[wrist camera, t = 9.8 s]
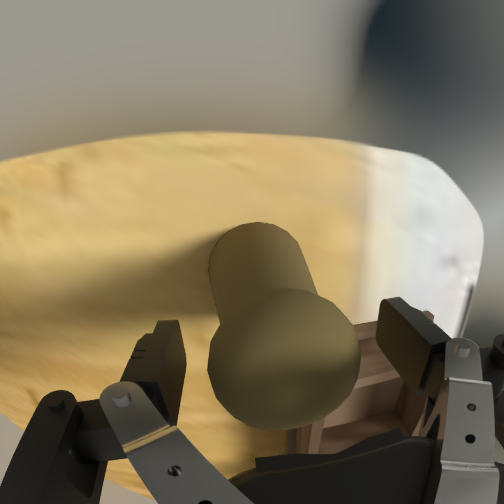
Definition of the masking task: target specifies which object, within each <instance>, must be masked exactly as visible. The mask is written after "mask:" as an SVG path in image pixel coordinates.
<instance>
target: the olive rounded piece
mask: <svg viewBox="0 0 504 504" xmlns="http://www.w3.org/2000/svg"><path fill="white" fill-rule="evenodd" d="M208 271H209V276H210V281H211V286H212V290H213V295H214V299H215V304H216V308H217V312H218V317H219V321H220V326H219V327H218V329H217V331H216V333H215V334H214V336H213V338H212V340H211V343H210V351H209V358H208V369H207V371H208V375H209V378H210V381H211V384H212V388H213V391H214V393H215V396H216V398H217V400H218V401H219V402H220V403H221V404H222V405H223V407H224V408H225V409H226V410H227V411H228V412H229V413H230V414H231V415H232V416H233V417H234V418H236V419H238V420H240V421H241V422H243V423H245V424H247V425H249V426H252V427H256V428H260V429H265V430H289V429H294V428H299V427H303V426H306V425H309V424H311V423H314V422H316V421H318V420H321V419H323V418H324V417H326V416H327V415H329V414H330V413H332V412H333V411H334V410H336V409H337V408H338V407H339V406H340V405H341V404H342V403H343V402H344V401H345V400H346V399H347V398H348V396H349V395H350V394H351V392H352V390H353V388H354V386H355V384H356V381H357V379H358V375H359V371H360V362H361V349H360V345H359V342H358V339H357V336H356V333H355V330H354V327H353V325H352V323H351V322H350V321H349V320H348V318H347V317H346V316H345V315H344V314H343V313H342V312H341V311H340V310H339V309H338V308H337V306H336V305H335V304H334V303H332V302H330V301H329V300H327V299H325V298H323V297H320V296H318V294H317V291H316V288H315V286H314V283H313V280H312V277H311V275H310V272H309V269H308V266H307V264H306V261H305V258H304V256H303V253H302V251H301V249H300V247H299V244H298V242H297V241H296V240H295V239H294V238H293V237H292V236H291V235H290V234H289V233H288V232H287V231H285V230H284V229H282V228H280V227H278V226H276V225H274V224H268V223H262V222H255V223H248V224H242V225H240V226H238V227H236V228H234V229H232V230H230V231H228V232H227V233H226V234H225V235H224V236H223V237H222V238H221V239H220V240H219V241H218V242H217V244H216V246H215V248H214V250H213V252H212V254H211V256H210V262H209V269H208Z"/></svg>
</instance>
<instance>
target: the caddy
mask: <svg viewBox="0 0 504 504" xmlns="http://www.w3.org/2000/svg"><path fill="white" fill-rule="evenodd" d="M423 313H424V314H425V315H426V316H427V317H428V319H431V320H432V321H433V319H434V315H433V314H431V313H430V312H429V311H423ZM377 322H378V321H375V322H370V323H364V324H358V325H353V327H354V330H355V333H356V336H357V339H358V342H359V345H360V349H361V362H360V371H359V375H358V379H357V381H356V384H355V386H354V388H353V390H352V392H351V394H350V395H349V396H348V398H347V399H346V400H345V401H344V402H343V403H342V404H341V405H340V406H339V407H338V408H337V409H336V410H334V411H333V412H332V413H330V414H329V415H327V416H326V417H324V418H323V419H321V420H318V421H316V422H314V423H311V424H309V425H306V426H303V427H299V428H294V429H289V430H287V434H286V454H293V453H297V454H335V453H338V452H340V451H342V450H344V449H346V448H349V447H351V446H353V445H355V444H357V443H358V442H360V441H362V440H364V439H366V438H368V437H371V436H375V435H378V434H381V433H385V432H388V431H391V430H394V429H397V428H400V430H401V432H402V434H403V435H404V436H417V435H418V433H419V430H420V425H421V420H422V415H423V410H424V404H425V400H426V398H427V395H428V394H427V393H423V394H420V395H417V396H414V395H413V393H412V392H411V391H410V389H409V388H408V386H407V385H406V384H405V382H404V381H403V379H402V378H401V377H400V375H399V374H398V372H397V371H396V370H395V368H394V367H393V365H392V364H391V363H390V361H389V360H388V359H387V357H386V356H385V355H384V353H383V352H382V350H381V349H380V348H379V346H378V344H377V341H376V328H377Z"/></svg>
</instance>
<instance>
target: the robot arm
mask: <svg viewBox="0 0 504 504" xmlns="http://www.w3.org/2000/svg"><path fill="white" fill-rule="evenodd" d="M376 341H377V344H378V346H379V348H380V349H381V350H382V352H383V353H384V355H385V356H386V357H387V359H388V360H389V361H390V363H391V364H392V365H393V367H394V368H395V370H396V371H397V372H398V374H399V375H400V377H401V378H402V379H403V381H404V382H405V384H406V385H407V386H408V388H409V389H410V391H411V392H412V393H413V395H414V396H417V395H420V394H423V393H427V394H428V395H427V398H426V400H425V404H424V410H423V415H422V420H421V425H420V430H419V434H418V436H404V435H403V434H402V432H401V430H400V428H397V429H394V430H391V431H388V432H385V433H381V434H378V435H375V436H371V437H368V438H366V439H364V440H362V441H360V442H358V443H357V444H355V445H353V446H351V447H349V448H346V449H344V450H342V451H340V452H338V453H335V454H297V453H293V454H286V455H278V456H270V457H260V458H255V461H256V468H253V469H250V470H247V471H244V472H242V473H239V474H237V475H235V476H233V477H232V478H230V479H228V480H227V479H226V478H225V477H224V476H223V475H222V474H221V473H220V472H219V471H218V470H217V469H216V468H215V467H214V466H213V465H212V464H211V463H210V462H209V461H208V460H207V459H206V458H205V457H204V456H203V455H202V454H201V453H200V452H199V451H198V450H197V449H196V448H195V446H194V445H193V444H192V443H191V442H190V441H189V440H188V439H187V438H186V436H185V435H184V434H183V433H182V432H181V431H180V430H179V429H178V428H177V420H178V414H179V408H180V402H181V396H182V390H183V384H184V378H185V373H186V364H187V363H186V353H185V348H184V344H183V339H182V334H181V329H180V325H179V322H178V320H162V321H158V322H157V324H156V327H155V329H154V332H153V333H152V334H145V335H144V336H143V337H142V338H141V339H139V340H138V341H137V344H136V346H135V348H134V351H133V352H132V355H131V359H129V361H128V363H127V366H126V368H125V370H124V373H123V375H122V377H121V379H120V382H117V383H114V384H112V385H110V386H108V387H107V388H105V389H104V390H103V391H102V393H101V395H100V398H99V399H96V400H89V401H81V402H77V400H76V398H75V397H74V395H73V394H72V393H70V392H69V391H65V390H57V391H53V392H51V393H49V394H47V395H46V396H44V397H43V398H42V400H41V401H40V403H39V405H38V406H37V408H36V410H35V412H34V414H33V416H32V418H31V420H30V422H29V424H28V425H27V427H26V429H25V431H24V434H23V436H22V438H21V440H20V442H19V444H18V446H17V448H16V450H15V452H14V455H13V457H12V459H11V461H10V464H9V466H8V468H7V471H6V473H5V476H4V478H3V481H2V483H1V486H0V504H99V502H100V496H101V491H102V486H103V481H104V477H105V472H106V468H107V463H108V461H110V460H118V459H125V458H128V459H129V461H130V462H131V464H132V466H133V467H134V469H135V470H136V472H137V474H138V475H139V477H140V478H141V480H142V481H143V483H144V484H145V486H146V487H147V489H148V490H149V491H150V493H151V494H152V496H153V497H154V498H155V500H156V501H157V502H158V504H504V464H501V463H497V462H495V461H494V453H495V436H496V438H497V439H498V441H499V442H500V444H501V445H502V447H503V448H504V391H503V389H504V334H502V335H501V334H500V335H497V336H496V337H495V338H494V340H493V343H492V346H491V347H490V348H480V349H479V348H478V346H477V345H476V344H475V343H474V342H472V341H471V340H468V339H465V338H453V339H451V338H450V337H449V336H448V335H447V334H446V333H445V332H444V331H443V330H442V329H441V328H439V327H438V326H437V325H436V324H434V322H433V321H432V320H431V319H428V317H427V316H426V315H425V314H424V313H423V312H422V311H420V310H418V309H416V308H413V307H411V306H410V305H409V304H407V303H406V302H405V301H404V300H403V299H402V298H400V297H395V298H389V299H383V300H382V301H381V303H380V308H379V315H378V322H377V328H376Z"/></svg>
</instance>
